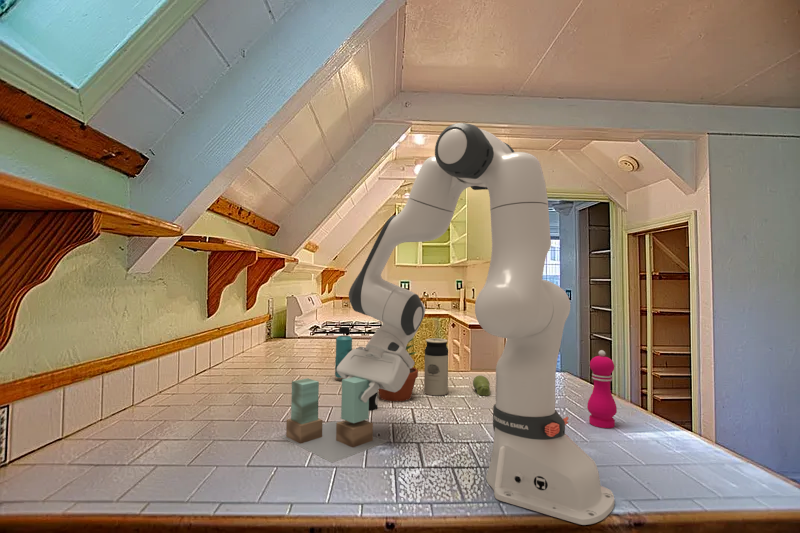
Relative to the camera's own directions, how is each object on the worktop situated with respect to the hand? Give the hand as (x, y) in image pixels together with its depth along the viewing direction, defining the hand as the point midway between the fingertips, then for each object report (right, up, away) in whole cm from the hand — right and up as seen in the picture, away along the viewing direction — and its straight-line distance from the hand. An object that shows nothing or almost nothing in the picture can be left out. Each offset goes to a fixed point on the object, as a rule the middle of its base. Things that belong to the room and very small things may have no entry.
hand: (353, 398), depth 99 cm
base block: (0, -10, 0) cm, 10 cm away
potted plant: (+10, -12, +41) cm, 44 cm away
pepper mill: (+66, -12, +17) cm, 69 cm away
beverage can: (+1, -12, +26) cm, 28 cm away
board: (-5, -11, +1) cm, 12 cm away
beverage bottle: (-11, -13, +63) cm, 65 cm away
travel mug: (+23, -13, +46) cm, 53 cm away
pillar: (0, -5, 0) cm, 5 cm away
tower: (-12, -10, +2) cm, 16 cm away
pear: (+39, -13, +48) cm, 63 cm away
